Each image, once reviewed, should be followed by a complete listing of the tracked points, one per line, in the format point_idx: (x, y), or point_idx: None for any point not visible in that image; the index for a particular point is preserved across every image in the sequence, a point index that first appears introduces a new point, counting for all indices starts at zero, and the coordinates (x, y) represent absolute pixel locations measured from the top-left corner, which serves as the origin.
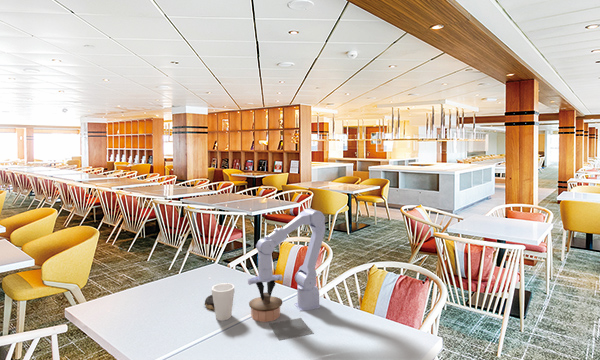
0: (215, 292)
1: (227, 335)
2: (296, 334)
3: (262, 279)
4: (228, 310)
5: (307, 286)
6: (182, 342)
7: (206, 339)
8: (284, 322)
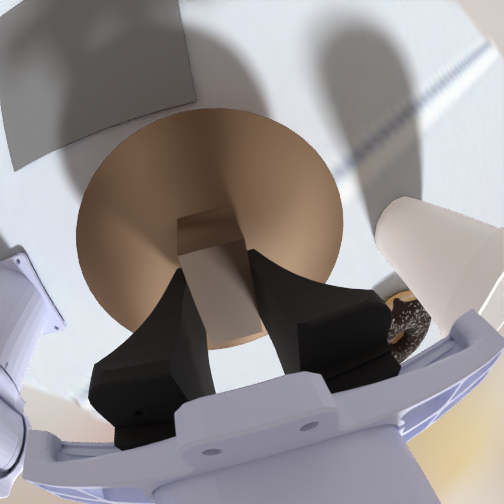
0: None
1: (401, 57)
2: None
3: (376, 432)
4: (420, 214)
5: None
6: (488, 88)
7: (452, 68)
8: (96, 109)
